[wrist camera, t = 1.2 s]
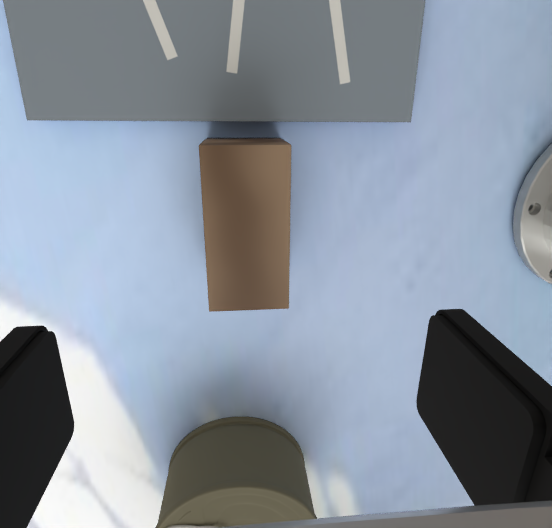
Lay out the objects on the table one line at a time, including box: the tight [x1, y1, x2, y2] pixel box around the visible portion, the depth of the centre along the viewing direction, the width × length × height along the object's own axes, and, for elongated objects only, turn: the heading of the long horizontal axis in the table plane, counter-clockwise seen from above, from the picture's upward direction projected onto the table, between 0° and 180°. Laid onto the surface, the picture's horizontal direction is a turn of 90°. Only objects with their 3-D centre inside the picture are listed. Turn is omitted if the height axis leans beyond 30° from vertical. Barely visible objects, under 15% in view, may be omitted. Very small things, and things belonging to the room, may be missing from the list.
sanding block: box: [199, 138, 291, 311], centre depth 24 cm, size 4×9×6 cm, turn 0°
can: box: [156, 417, 317, 528], centre depth 32 cm, size 12×12×7 cm
